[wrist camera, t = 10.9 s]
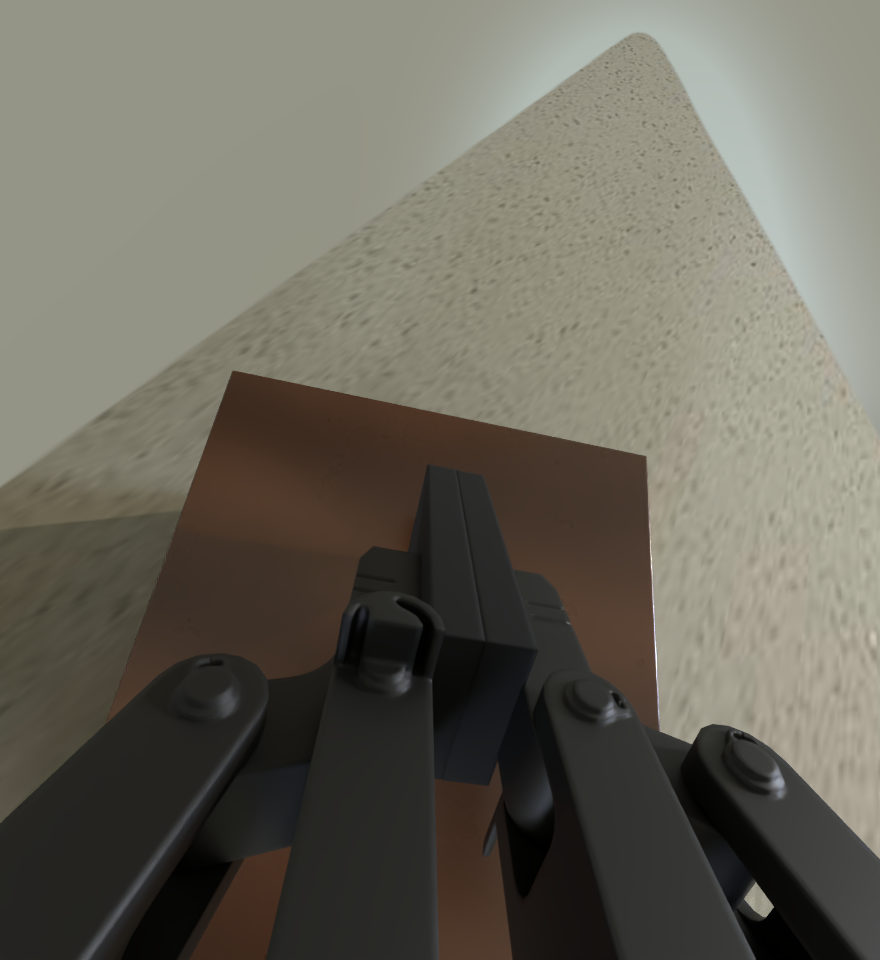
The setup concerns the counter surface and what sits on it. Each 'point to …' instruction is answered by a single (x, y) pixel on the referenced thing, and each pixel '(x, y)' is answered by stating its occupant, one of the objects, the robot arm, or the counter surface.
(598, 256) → the counter surface
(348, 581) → the lid
